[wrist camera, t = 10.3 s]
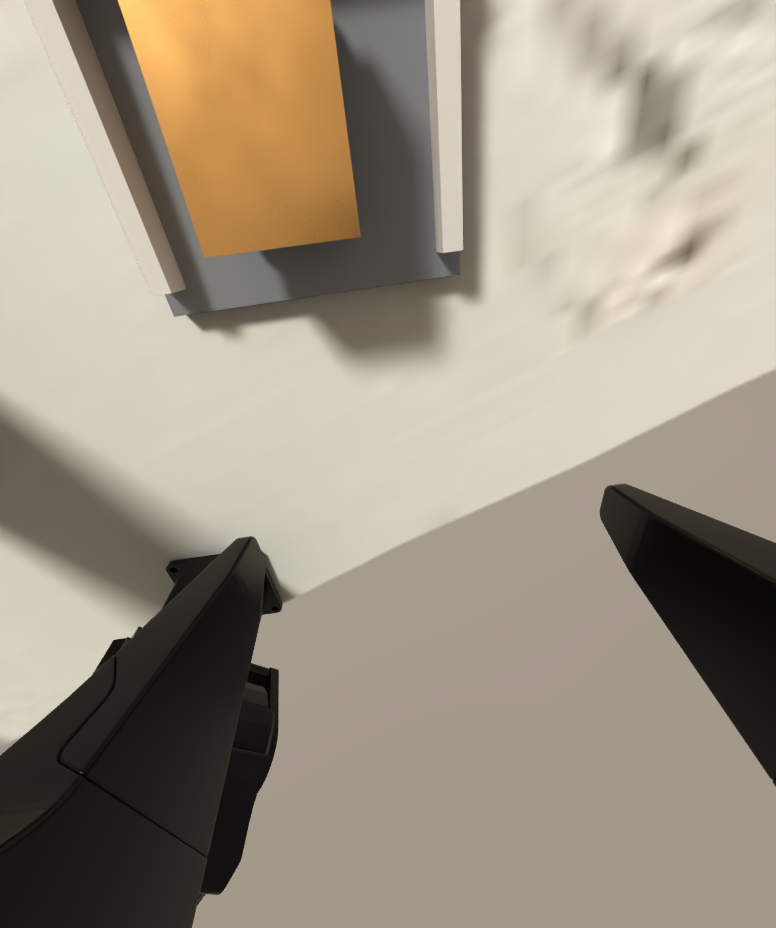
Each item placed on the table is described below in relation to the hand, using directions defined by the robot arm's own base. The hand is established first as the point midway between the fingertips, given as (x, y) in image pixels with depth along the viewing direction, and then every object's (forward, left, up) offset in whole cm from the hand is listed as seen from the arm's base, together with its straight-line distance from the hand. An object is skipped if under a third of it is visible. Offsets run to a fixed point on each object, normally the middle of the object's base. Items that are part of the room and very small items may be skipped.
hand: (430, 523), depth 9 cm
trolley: (+10, +3, -11) cm, 15 cm away
